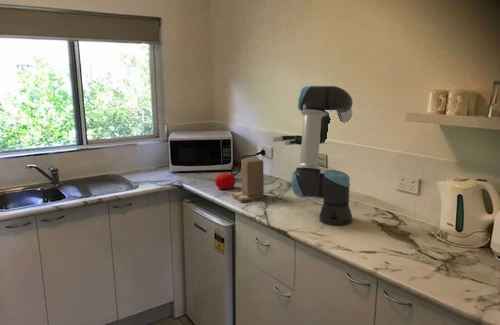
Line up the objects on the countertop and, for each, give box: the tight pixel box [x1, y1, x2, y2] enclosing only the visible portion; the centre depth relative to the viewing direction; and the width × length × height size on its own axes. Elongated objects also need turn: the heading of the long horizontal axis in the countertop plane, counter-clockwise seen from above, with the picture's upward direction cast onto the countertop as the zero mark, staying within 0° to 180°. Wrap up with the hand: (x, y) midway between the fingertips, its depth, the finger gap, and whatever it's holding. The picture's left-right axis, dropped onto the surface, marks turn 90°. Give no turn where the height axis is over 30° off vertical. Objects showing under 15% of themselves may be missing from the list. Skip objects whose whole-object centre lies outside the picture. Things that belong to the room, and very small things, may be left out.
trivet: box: [231, 191, 266, 204], centre depth 220 cm, size 14×14×2 cm
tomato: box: [214, 172, 236, 190], centre depth 239 cm, size 11×13×10 cm
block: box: [240, 157, 265, 197], centre depth 218 cm, size 10×10×20 cm
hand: (278, 141), depth 216 cm, fingers open, 13 cm apart
